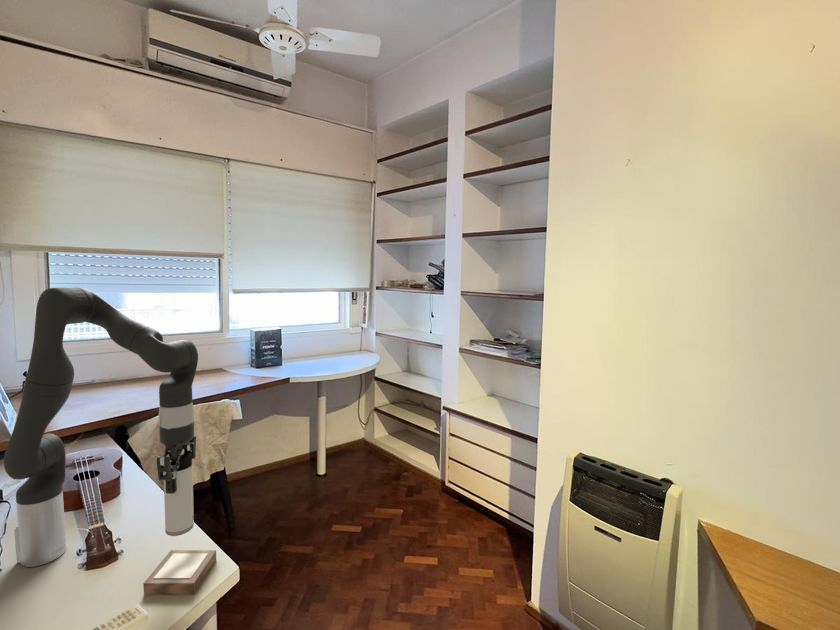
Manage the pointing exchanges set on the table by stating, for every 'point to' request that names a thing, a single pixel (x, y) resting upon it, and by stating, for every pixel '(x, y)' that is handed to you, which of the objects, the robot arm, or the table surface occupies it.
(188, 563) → the plinth
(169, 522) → the travel mug
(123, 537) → the table surface
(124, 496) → the table surface
